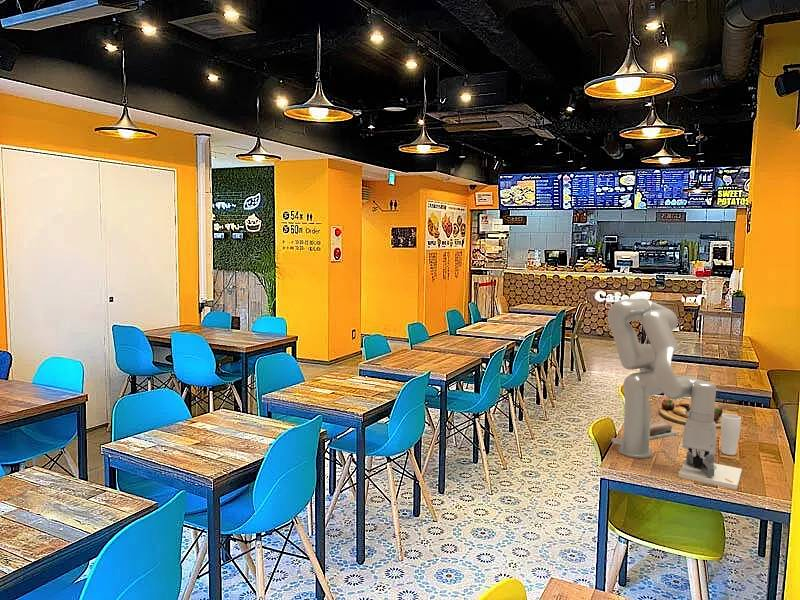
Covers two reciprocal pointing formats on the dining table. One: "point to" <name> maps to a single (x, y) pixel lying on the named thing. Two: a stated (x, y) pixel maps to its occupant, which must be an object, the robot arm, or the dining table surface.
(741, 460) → the dining table surface
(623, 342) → the robot arm
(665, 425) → the packaged product
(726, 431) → the drinking glass
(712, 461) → the dial
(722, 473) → the dial base
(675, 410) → the wooden plate with food
